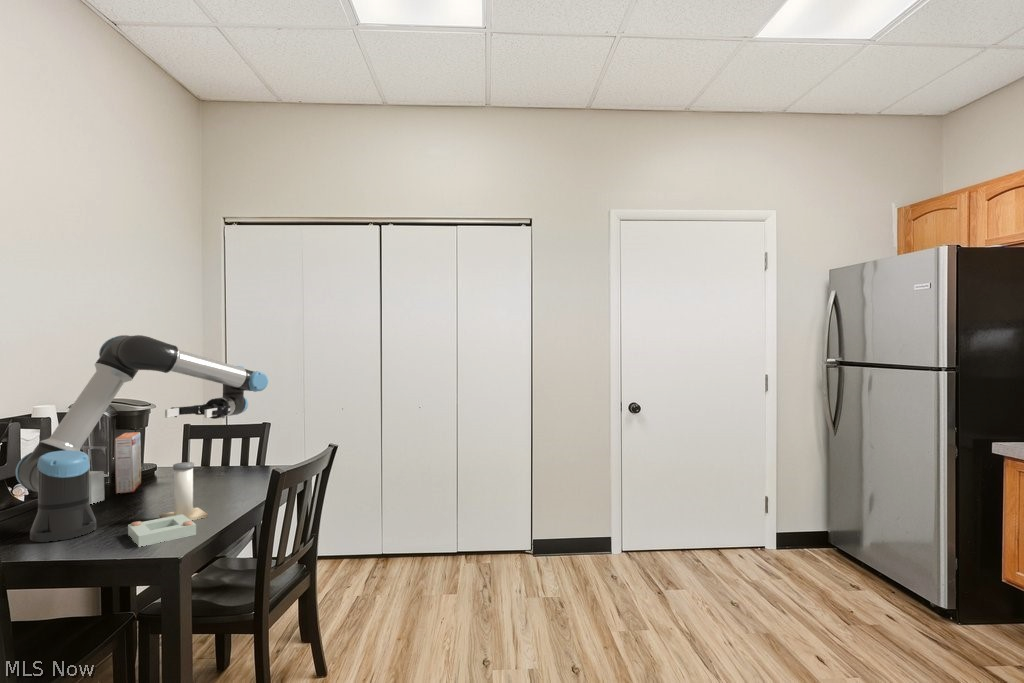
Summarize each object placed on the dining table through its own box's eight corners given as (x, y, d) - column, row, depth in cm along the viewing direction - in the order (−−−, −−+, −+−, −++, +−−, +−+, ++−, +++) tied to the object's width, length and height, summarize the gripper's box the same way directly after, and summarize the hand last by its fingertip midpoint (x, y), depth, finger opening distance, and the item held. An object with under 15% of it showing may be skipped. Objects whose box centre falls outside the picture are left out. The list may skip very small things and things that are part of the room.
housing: (138, 547, 150) (138, 534, 150) (128, 535, 160) (128, 522, 160) (196, 534, 160) (196, 522, 160) (182, 523, 170) (182, 512, 170)
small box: (104, 500, 197) (104, 471, 197) (91, 505, 191) (91, 474, 191) (84, 500, 198) (84, 470, 198) (70, 504, 192) (70, 474, 192)
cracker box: (123, 485, 218) (123, 432, 218) (141, 484, 220) (141, 431, 221) (114, 494, 205) (114, 437, 205) (133, 492, 208) (133, 436, 208)
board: (168, 525, 169) (168, 522, 169) (159, 517, 177) (159, 514, 177) (207, 517, 176) (207, 514, 176) (197, 510, 184) (197, 507, 184)
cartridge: (175, 518, 172) (175, 467, 172) (170, 514, 177) (170, 464, 177) (196, 514, 177) (196, 464, 177) (191, 510, 181) (191, 461, 181)
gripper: (252, 417, 210) (221, 425, 188) (186, 417, 210) (149, 424, 189) (252, 398, 210) (222, 402, 189) (187, 397, 210) (149, 402, 189)
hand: (185, 413), depth 189 cm, fingers open, 13 cm apart
